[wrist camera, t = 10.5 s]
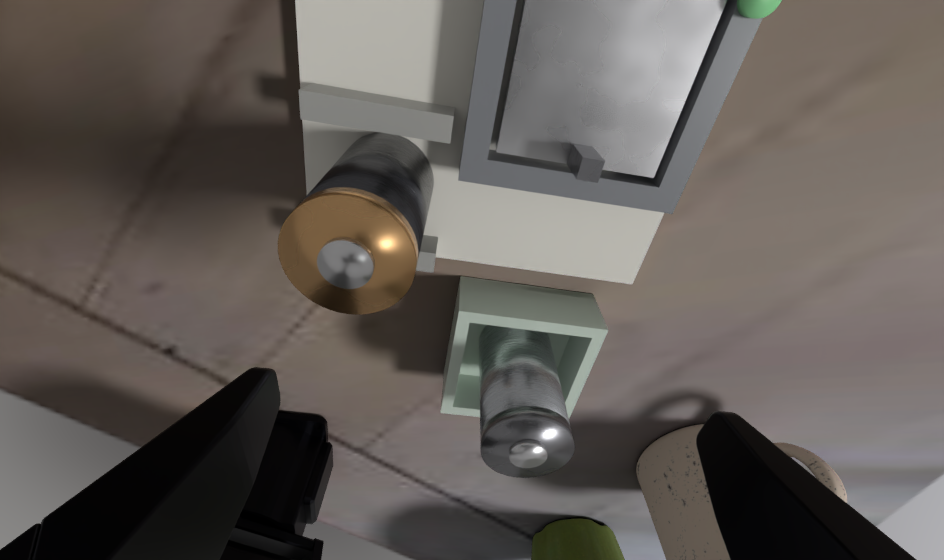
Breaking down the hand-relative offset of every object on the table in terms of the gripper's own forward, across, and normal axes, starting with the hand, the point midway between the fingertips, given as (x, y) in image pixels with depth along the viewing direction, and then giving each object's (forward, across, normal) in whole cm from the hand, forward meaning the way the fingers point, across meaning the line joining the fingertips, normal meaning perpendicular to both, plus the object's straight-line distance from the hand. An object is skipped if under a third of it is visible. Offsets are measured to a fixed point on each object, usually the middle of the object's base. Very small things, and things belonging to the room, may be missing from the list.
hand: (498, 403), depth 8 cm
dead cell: (+12, -3, +9) cm, 15 cm away
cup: (+12, -3, +9) cm, 15 cm away
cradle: (+11, -3, -5) cm, 13 cm away
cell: (+12, +4, 0) cm, 12 cm away
